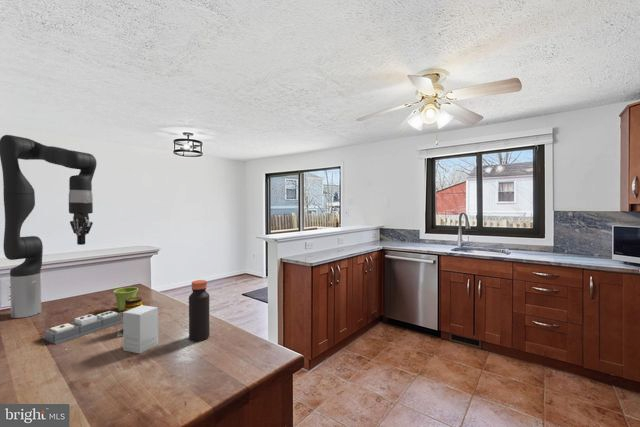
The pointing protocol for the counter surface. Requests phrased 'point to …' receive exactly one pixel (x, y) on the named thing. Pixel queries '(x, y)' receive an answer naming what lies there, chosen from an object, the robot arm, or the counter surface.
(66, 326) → the tile one
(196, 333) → the bottle
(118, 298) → the plant pot
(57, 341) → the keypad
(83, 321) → the tile two
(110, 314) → the tile three
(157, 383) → the counter surface
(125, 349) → the supplement box
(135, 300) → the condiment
